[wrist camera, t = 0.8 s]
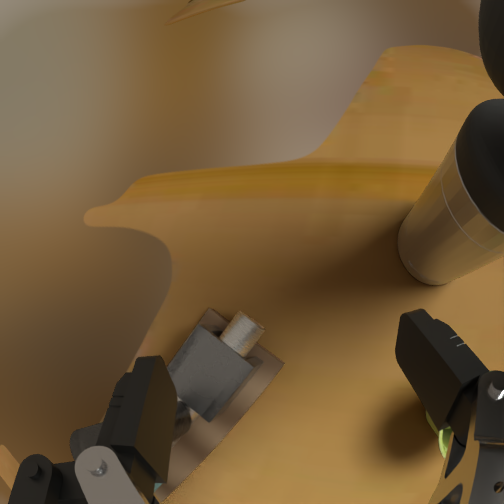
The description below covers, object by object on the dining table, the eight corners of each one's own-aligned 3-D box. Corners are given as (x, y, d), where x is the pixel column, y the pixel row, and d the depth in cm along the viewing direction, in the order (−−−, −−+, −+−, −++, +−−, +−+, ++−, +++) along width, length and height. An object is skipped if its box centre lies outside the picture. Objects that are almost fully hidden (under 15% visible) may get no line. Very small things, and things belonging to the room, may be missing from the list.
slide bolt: (240, 309, 31) (166, 285, 16) (271, 332, 30) (222, 331, 15) (144, 437, 29) (47, 477, 14) (168, 459, 28) (80, 515, 13)
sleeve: (216, 325, 32) (198, 323, 27) (263, 361, 30) (253, 367, 25) (180, 373, 31) (158, 379, 26) (224, 410, 29) (209, 423, 24)
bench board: (213, 309, 34) (208, 308, 32) (285, 363, 31) (283, 364, 29) (108, 454, 31) (102, 457, 30) (160, 502, 28) (155, 507, 27)
